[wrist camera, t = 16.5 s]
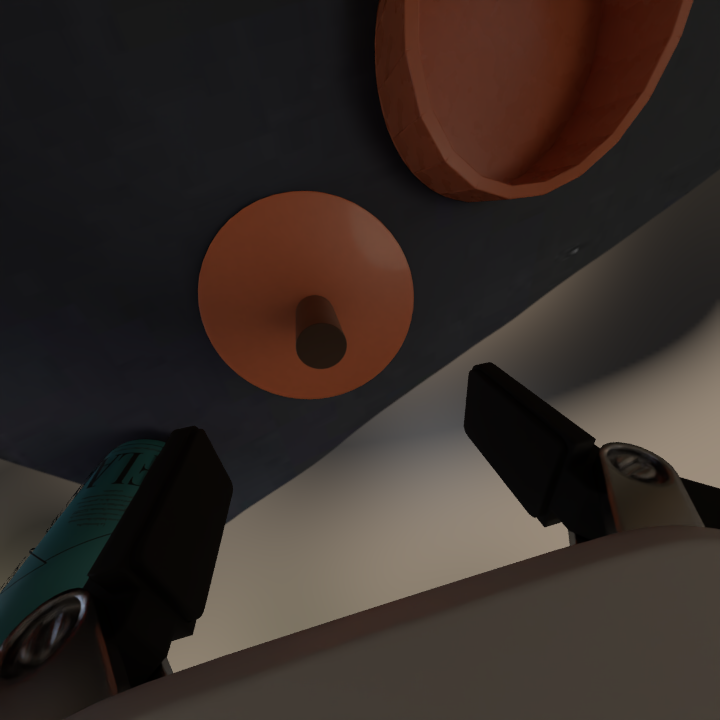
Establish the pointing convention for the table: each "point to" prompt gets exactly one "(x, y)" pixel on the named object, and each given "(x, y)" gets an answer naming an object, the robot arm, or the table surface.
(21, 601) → the beverage bottle
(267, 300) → the lid
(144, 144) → the table surface
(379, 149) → the table surface
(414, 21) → the pot
